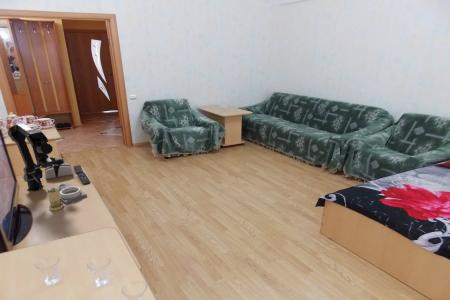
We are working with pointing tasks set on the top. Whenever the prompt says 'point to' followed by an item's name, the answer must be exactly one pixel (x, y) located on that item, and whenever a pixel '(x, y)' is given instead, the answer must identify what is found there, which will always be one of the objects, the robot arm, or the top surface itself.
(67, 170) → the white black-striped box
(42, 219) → the top surface
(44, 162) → the robot arm
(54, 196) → the gold pepper grinder
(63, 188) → the board
